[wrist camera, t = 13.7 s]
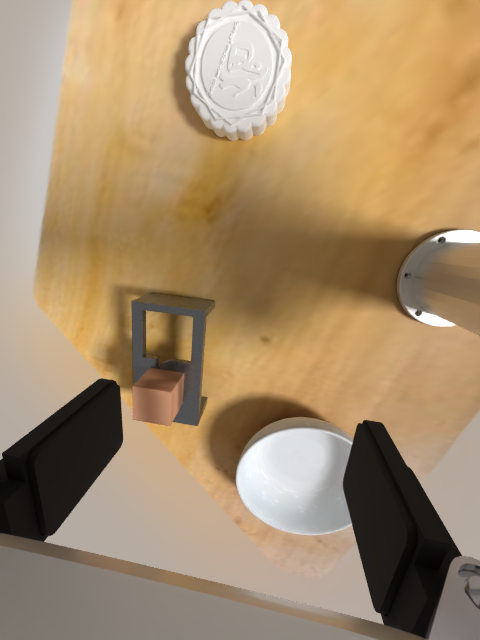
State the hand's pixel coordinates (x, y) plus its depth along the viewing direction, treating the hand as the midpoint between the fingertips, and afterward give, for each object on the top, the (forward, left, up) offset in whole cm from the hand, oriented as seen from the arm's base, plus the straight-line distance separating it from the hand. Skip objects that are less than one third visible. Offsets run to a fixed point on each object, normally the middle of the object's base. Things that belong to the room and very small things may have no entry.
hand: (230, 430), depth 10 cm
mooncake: (+6, -25, -30) cm, 39 cm away
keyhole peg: (+12, +14, -27) cm, 33 cm away
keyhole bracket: (+12, +11, -30) cm, 34 cm away
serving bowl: (-10, +27, -30) cm, 42 cm away
